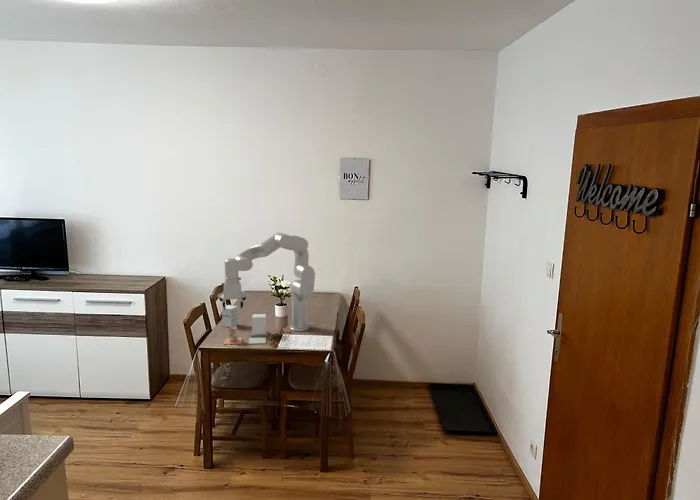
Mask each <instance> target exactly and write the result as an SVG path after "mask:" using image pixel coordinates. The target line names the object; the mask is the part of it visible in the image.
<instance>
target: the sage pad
mask: <svg viewBox="0 0 700 500" xmlns="http://www.w3.org/2000/svg"><path fill="white" fill-rule="evenodd" d="M266 344H267V337H248V345H266Z"/></svg>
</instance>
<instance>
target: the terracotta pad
mask: <svg viewBox="0 0 700 500" xmlns="http://www.w3.org/2000/svg"><path fill="white" fill-rule="evenodd" d="M228 344H232V345H242V344H243V337H237V342H230V337H226V338H225V339H224V342H223V345H224V346H228Z"/></svg>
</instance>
